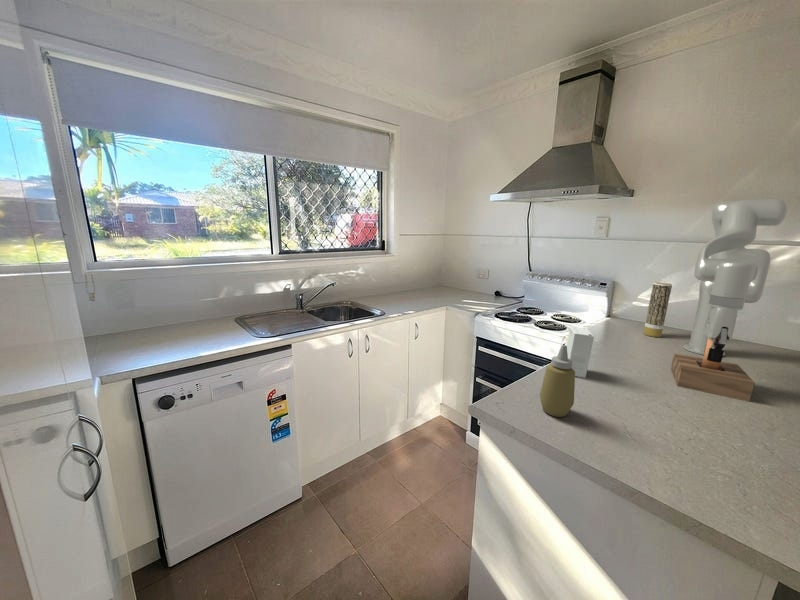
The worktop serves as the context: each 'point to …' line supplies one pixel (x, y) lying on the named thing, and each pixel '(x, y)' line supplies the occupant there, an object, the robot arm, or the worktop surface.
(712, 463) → the worktop surface
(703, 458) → the worktop surface
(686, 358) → the socket block
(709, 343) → the peg
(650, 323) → the brown textured cylinder
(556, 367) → the squeeze bottle
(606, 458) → the worktop surface
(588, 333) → the skincare box
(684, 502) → the worktop surface
